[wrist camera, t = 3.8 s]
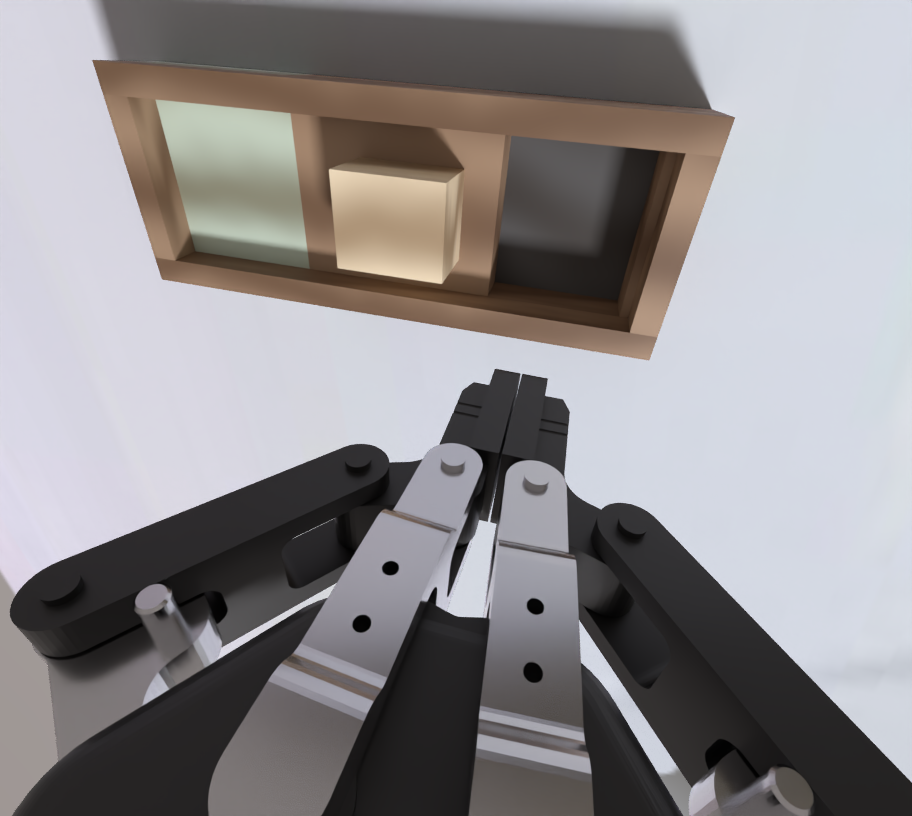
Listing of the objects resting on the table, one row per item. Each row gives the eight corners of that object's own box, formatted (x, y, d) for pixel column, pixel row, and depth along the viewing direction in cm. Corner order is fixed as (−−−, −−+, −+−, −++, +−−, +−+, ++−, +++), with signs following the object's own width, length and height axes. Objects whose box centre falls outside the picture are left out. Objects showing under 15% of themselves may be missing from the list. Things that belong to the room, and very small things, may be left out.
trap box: (160, 61, 29) (92, 60, 25) (712, 109, 24) (734, 117, 20) (209, 256, 36) (162, 279, 32) (642, 323, 31) (649, 360, 27)
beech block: (360, 157, 27) (328, 169, 23) (464, 169, 26) (446, 183, 22) (365, 246, 30) (337, 268, 26) (458, 260, 29) (441, 284, 25)
